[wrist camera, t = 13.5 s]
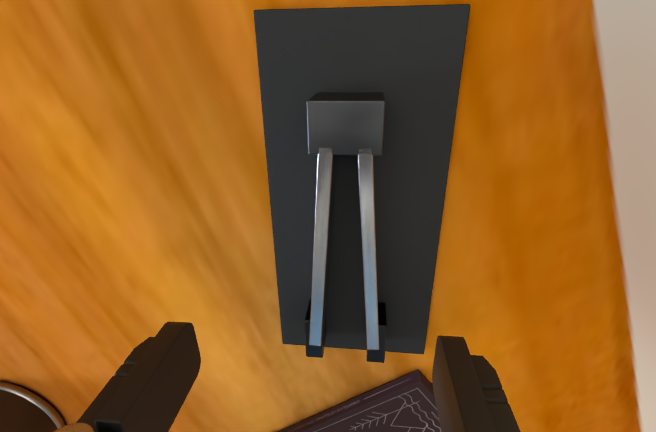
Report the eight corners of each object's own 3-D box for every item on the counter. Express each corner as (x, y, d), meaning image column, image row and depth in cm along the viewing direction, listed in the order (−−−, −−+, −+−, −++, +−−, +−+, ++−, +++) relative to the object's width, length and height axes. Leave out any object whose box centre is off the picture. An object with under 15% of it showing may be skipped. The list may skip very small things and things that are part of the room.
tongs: (300, 92, 18) (287, 100, 15) (399, 92, 18) (405, 100, 15) (311, 332, 25) (303, 369, 22) (383, 337, 24) (384, 376, 22)
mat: (422, 348, 25) (424, 354, 25) (284, 338, 26) (282, 344, 26) (467, 5, 16) (471, 3, 16) (256, 10, 18) (253, 9, 17)
